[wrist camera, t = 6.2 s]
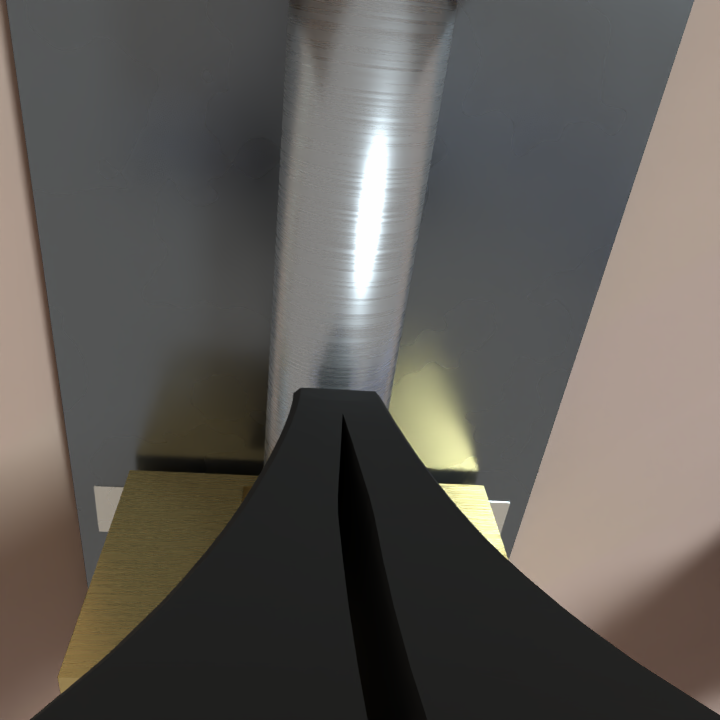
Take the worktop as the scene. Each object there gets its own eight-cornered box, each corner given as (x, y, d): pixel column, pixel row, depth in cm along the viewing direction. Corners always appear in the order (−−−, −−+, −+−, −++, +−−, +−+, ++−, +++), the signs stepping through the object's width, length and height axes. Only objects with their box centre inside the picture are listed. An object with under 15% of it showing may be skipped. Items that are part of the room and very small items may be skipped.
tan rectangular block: (483, 485, 17) (549, 681, 13) (454, 588, 19) (501, 790, 15) (129, 470, 16) (57, 677, 12) (138, 580, 18) (80, 794, 14)
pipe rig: (718, -129, 11) (916, -171, 8) (466, 658, 23) (497, 795, 19) (-12, -248, 10) (-202, -371, 6) (104, 654, 21) (61, 802, 18)
